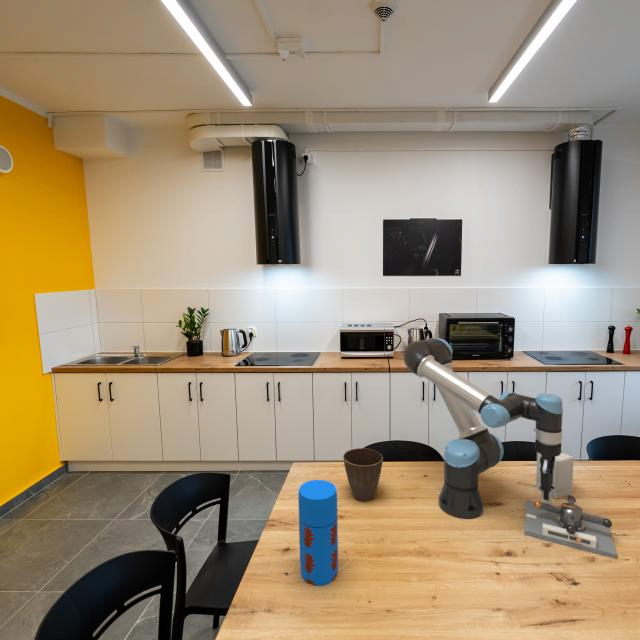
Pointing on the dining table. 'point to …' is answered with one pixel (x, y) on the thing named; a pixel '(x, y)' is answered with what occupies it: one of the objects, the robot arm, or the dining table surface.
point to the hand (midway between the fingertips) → (546, 507)
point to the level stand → (587, 540)
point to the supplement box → (559, 475)
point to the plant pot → (363, 472)
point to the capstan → (572, 515)
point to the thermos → (318, 532)
